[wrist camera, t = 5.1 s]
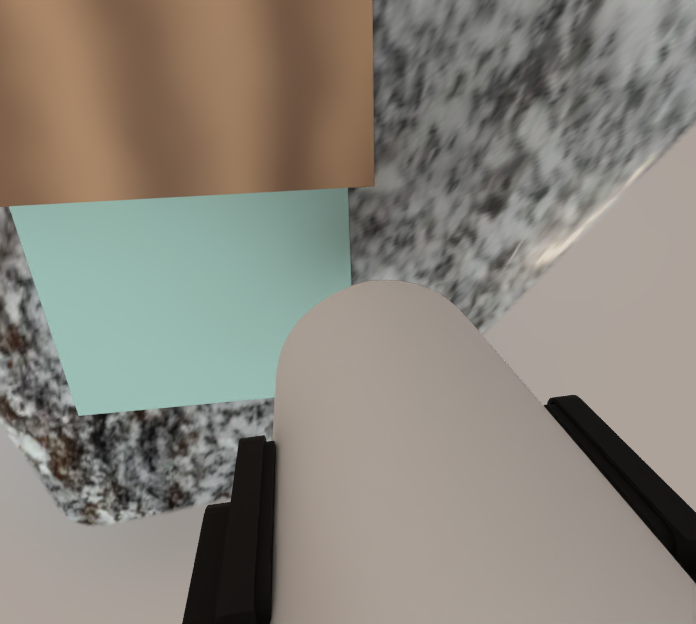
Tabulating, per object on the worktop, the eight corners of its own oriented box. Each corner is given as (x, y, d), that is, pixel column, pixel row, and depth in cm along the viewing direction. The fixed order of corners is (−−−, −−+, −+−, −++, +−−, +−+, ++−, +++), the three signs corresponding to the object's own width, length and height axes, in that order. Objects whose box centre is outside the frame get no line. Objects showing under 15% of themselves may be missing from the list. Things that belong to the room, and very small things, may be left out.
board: (359, -93, 21) (370, -127, 18) (364, 176, 26) (374, 186, 23) (-111, -92, 20) (-188, -130, 16) (-11, 196, 25) (-55, 209, 21)
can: (445, 241, 14) (1109, 800, 3) (494, 409, 16) (921, 1032, 5) (239, 323, 14) (63, 1148, 3) (321, 475, 16) (390, 1198, 6)
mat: (346, 177, 26) (347, 178, 26) (354, 386, 32) (354, 389, 32) (10, 195, 25) (5, 196, 24) (81, 411, 30) (78, 415, 30)
